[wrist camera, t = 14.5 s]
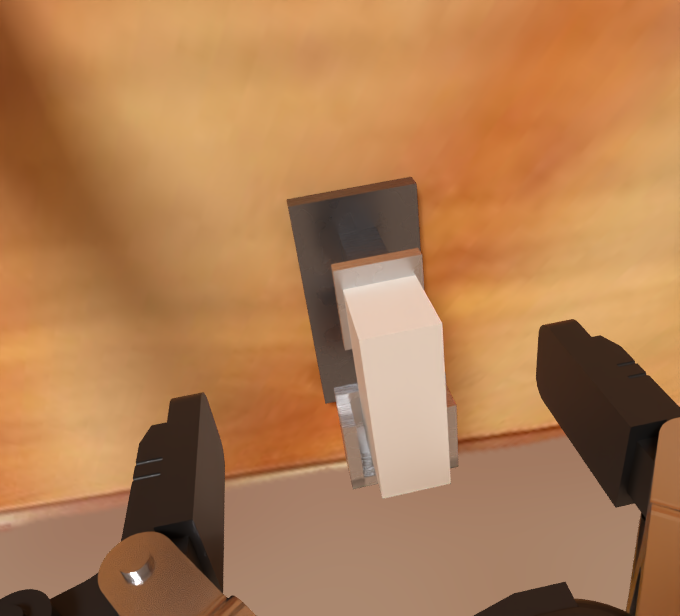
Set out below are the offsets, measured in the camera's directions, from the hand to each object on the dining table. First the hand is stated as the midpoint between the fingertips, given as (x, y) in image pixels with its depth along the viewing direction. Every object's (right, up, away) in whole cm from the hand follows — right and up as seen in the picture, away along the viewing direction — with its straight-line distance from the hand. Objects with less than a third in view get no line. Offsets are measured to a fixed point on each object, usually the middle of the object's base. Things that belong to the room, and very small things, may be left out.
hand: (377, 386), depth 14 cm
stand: (+1, +3, +38) cm, 38 cm away
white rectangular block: (+3, -2, +29) cm, 30 cm away
